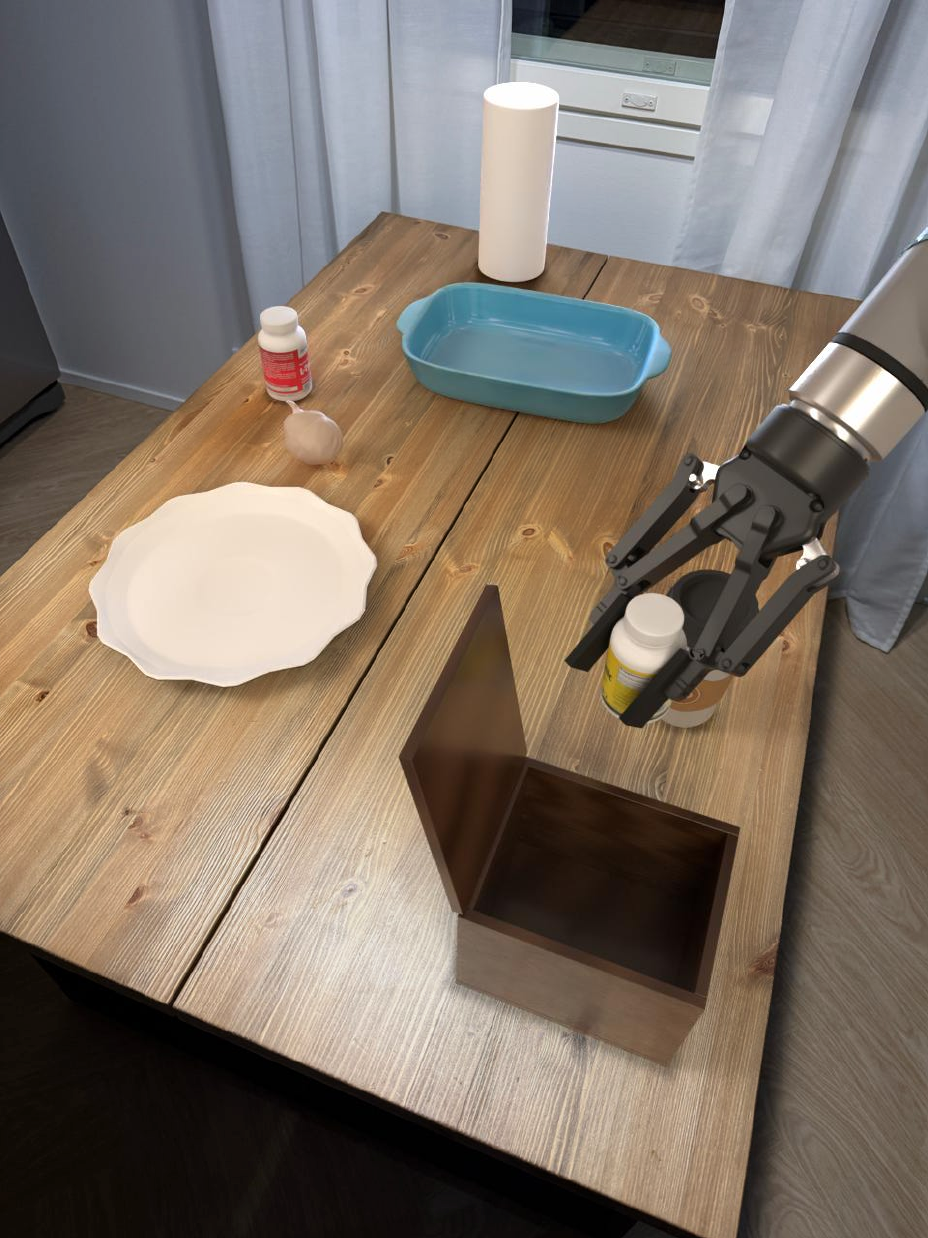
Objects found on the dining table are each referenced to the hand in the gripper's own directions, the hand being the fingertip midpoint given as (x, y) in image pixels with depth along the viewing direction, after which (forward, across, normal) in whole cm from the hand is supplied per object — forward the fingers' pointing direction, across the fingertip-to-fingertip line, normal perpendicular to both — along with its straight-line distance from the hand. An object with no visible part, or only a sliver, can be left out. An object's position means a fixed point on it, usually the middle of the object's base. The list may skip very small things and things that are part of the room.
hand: (602, 693), depth 64 cm
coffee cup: (+2, +4, -25) cm, 25 cm away
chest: (+18, -9, -9) cm, 22 cm away
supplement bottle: (0, 0, -5) cm, 5 cm away
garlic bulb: (+10, +57, -16) cm, 60 cm away
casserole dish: (-13, +57, -39) cm, 70 cm away
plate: (+22, +42, -4) cm, 48 cm away
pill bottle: (+7, +72, -19) cm, 75 cm away
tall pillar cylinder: (-25, +84, -51) cm, 101 cm away
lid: (+6, -1, +11) cm, 12 cm away
